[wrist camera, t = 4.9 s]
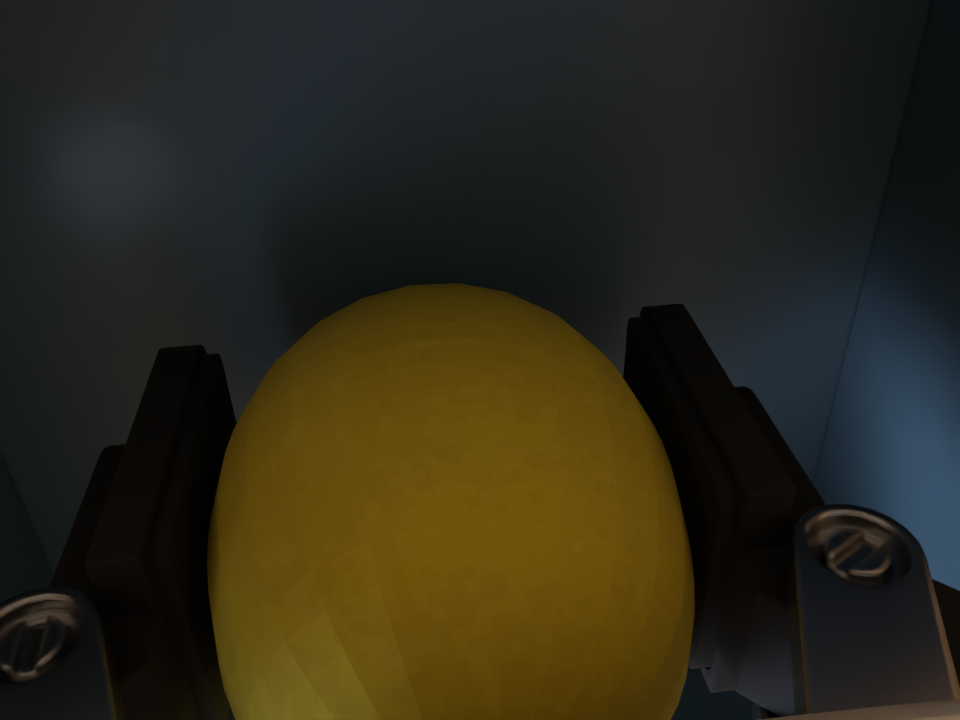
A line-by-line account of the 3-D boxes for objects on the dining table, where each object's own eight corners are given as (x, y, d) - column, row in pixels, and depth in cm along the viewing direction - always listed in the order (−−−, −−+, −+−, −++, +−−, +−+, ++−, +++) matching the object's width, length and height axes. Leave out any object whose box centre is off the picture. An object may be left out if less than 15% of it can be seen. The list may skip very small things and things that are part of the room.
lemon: (548, 134, 12) (775, 565, 5) (628, 426, 15) (835, 926, 9) (181, 260, 12) (-19, 801, 6) (331, 520, 16) (311, 1065, 9)
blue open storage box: (67, 677, 18) (-32, 976, 13) (-331, -166, 9) (-933, -115, 5) (811, 594, 19) (947, 842, 14) (1031, -218, 11) (1502, -215, 6)
